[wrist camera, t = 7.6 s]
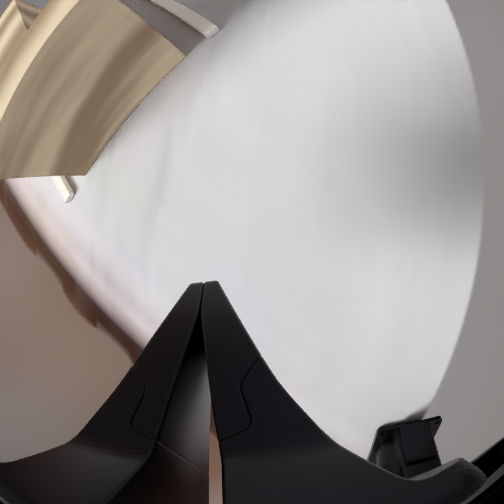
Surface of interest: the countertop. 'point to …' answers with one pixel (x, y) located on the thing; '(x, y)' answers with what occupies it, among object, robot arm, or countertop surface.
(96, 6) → the t block
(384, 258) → the countertop surface
